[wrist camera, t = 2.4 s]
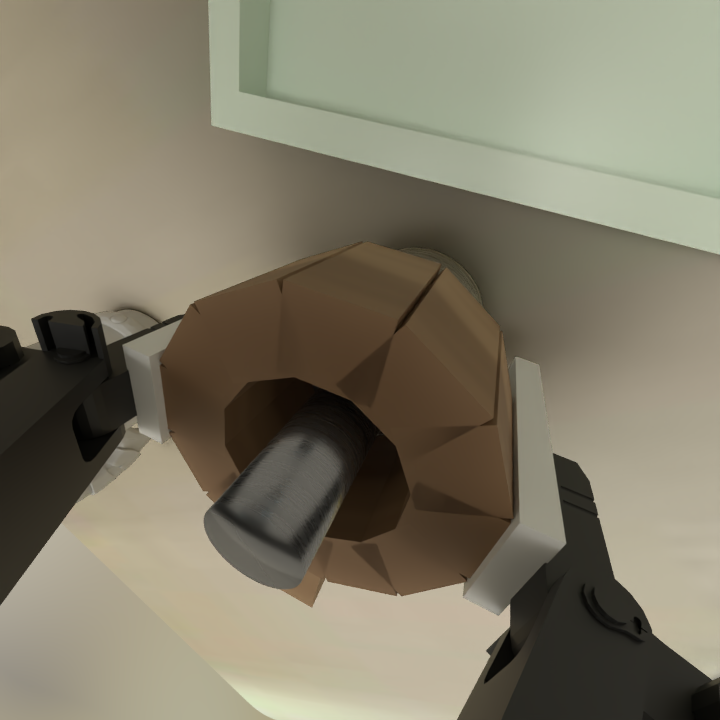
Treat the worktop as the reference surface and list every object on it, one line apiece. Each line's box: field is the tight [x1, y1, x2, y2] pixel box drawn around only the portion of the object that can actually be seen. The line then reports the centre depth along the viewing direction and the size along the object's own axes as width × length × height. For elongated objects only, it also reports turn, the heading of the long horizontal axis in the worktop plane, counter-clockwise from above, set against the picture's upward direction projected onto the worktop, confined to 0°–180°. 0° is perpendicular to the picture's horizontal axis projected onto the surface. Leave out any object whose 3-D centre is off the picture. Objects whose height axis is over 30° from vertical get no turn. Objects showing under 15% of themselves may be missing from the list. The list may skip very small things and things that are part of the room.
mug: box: [25, 310, 158, 503], centre depth 20 cm, size 8×12×12 cm, turn 170°
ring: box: [159, 241, 514, 607], centre depth 10 cm, size 10×8×4 cm
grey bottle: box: [204, 247, 483, 589], centre depth 11 cm, size 6×6×12 cm
